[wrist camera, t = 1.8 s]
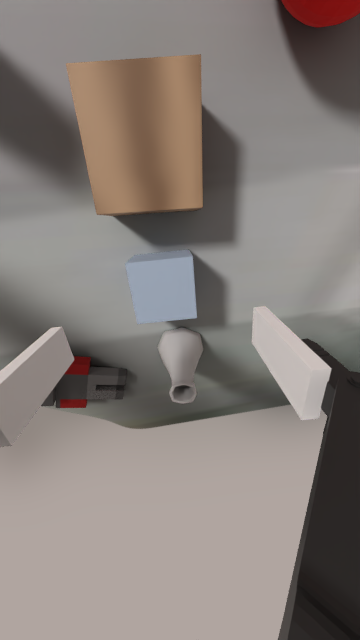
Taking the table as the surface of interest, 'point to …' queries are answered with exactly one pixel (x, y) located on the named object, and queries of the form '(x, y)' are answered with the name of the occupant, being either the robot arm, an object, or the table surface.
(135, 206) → the base block
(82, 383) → the toy
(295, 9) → the tomato
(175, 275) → the blue brick
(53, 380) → the robot arm
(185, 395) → the flask
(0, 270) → the table surface
